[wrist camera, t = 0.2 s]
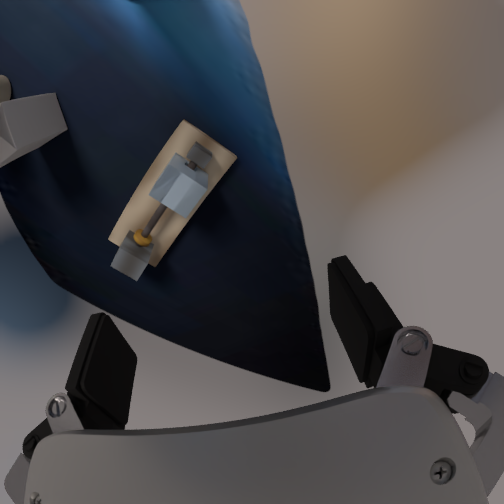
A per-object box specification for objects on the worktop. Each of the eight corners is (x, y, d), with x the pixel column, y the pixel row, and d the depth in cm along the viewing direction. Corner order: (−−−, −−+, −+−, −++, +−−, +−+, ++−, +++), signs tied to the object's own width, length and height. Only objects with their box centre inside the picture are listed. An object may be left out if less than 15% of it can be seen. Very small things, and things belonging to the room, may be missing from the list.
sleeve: (157, 178, 42) (148, 194, 36) (175, 152, 40) (168, 163, 34) (189, 199, 44) (185, 218, 38) (208, 174, 42) (207, 189, 36)
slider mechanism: (110, 235, 47) (97, 258, 41) (184, 119, 39) (178, 124, 33) (156, 262, 51) (150, 288, 45) (236, 155, 43) (240, 168, 37)
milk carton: (68, 128, 36) (-2, 159, 20) (38, 147, 37) (-31, 186, 21) (55, 92, 33) (-20, 106, 17) (26, 113, 33) (-48, 138, 17)
